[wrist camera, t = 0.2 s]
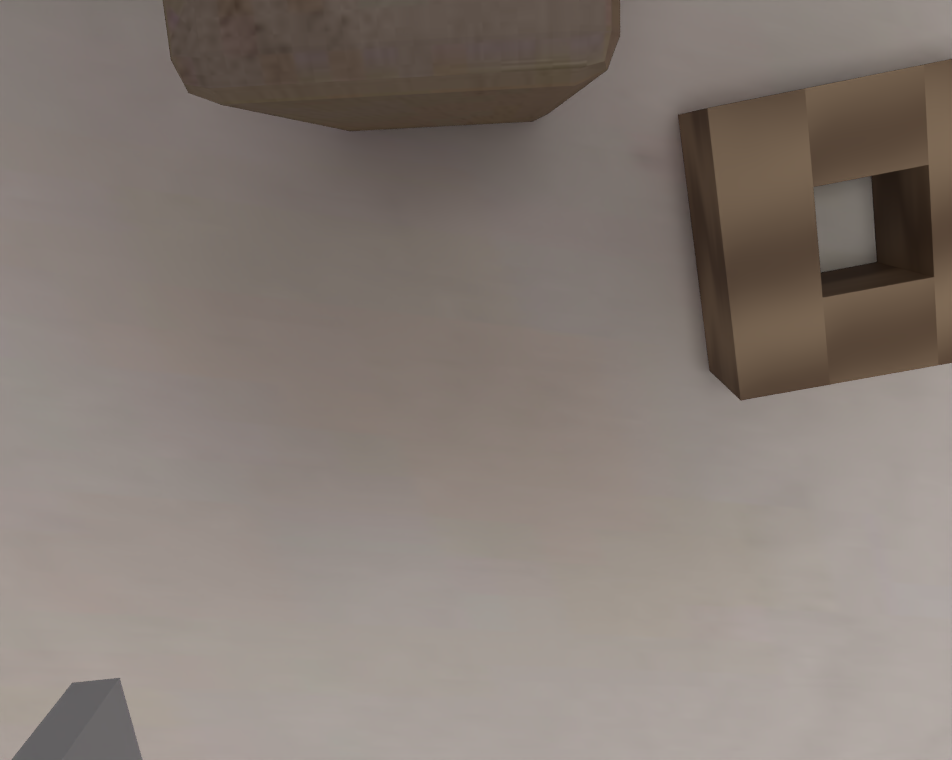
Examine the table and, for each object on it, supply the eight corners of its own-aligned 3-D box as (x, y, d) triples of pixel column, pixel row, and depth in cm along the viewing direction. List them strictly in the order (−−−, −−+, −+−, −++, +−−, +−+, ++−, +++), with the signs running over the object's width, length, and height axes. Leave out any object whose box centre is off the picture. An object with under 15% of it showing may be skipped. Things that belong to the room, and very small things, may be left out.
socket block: (678, 114, 36) (707, 108, 32) (952, 60, 36) (1024, 44, 31) (709, 370, 39) (740, 400, 35) (962, 325, 39) (1030, 348, 34)
